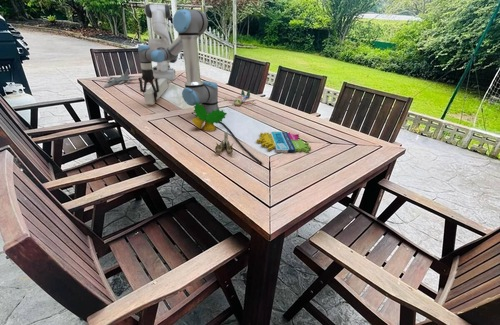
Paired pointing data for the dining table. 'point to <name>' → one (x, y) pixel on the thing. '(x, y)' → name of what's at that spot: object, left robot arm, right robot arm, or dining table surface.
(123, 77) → the airplane
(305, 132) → the dining table surface
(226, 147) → the jawbone
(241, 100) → the toy
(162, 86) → the beam
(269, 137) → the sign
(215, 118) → the ornament
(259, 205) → the dining table surface
